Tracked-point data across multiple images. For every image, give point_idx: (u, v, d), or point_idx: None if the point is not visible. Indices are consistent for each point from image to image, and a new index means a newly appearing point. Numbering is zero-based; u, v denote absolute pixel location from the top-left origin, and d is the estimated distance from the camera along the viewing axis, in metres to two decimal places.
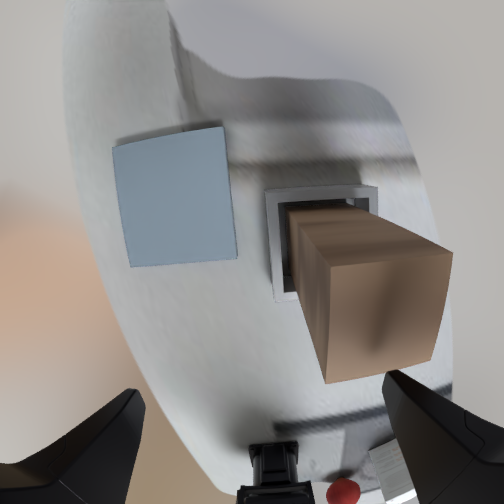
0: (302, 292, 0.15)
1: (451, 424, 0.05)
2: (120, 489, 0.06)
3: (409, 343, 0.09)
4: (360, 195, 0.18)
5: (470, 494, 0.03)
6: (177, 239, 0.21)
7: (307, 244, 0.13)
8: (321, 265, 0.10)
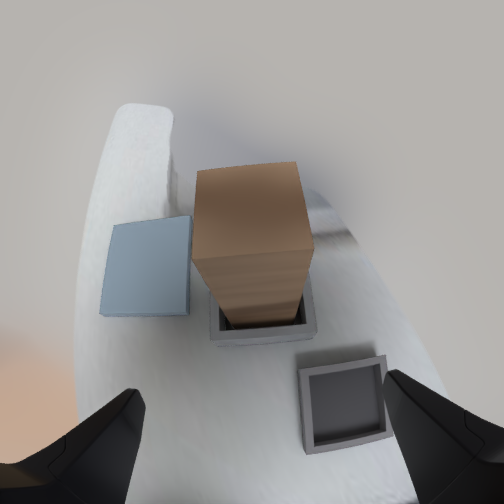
0: None
1: (451, 424, 0.05)
2: (120, 489, 0.06)
3: (274, 223, 0.12)
4: None
5: (470, 494, 0.03)
6: (141, 293, 0.24)
7: None
8: None
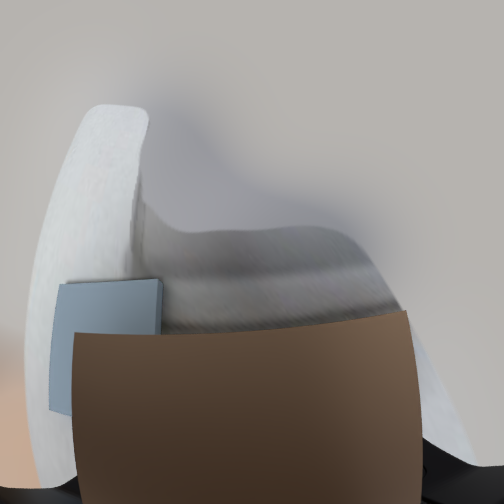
0: None
1: None
2: None
3: None
4: None
5: None
6: None
7: None
8: None
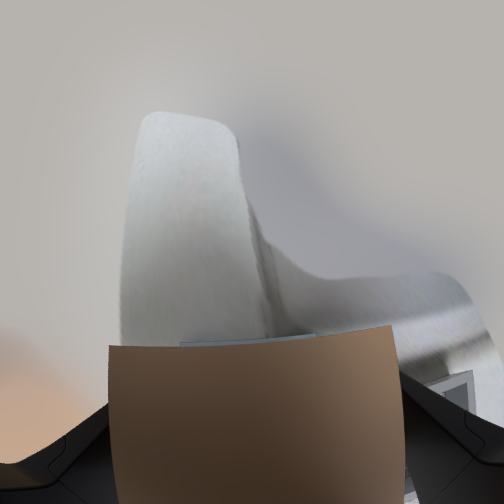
0: None
1: (451, 424, 0.05)
2: None
3: None
4: (459, 383, 0.13)
5: (470, 494, 0.03)
6: None
7: None
8: None
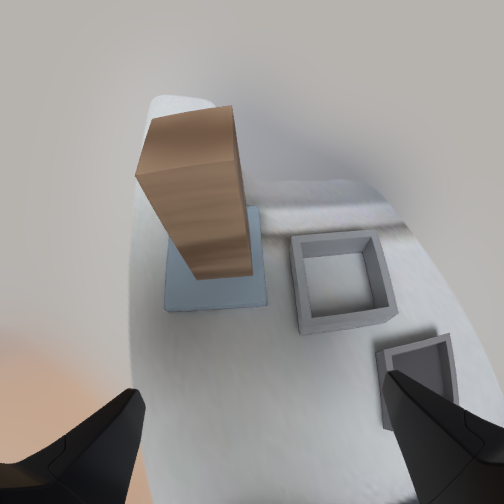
0: None
1: (451, 424, 0.05)
2: (120, 489, 0.06)
3: (204, 146, 0.13)
4: (364, 235, 0.23)
5: (470, 494, 0.03)
6: (214, 284, 0.24)
7: None
8: None
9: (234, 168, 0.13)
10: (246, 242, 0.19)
